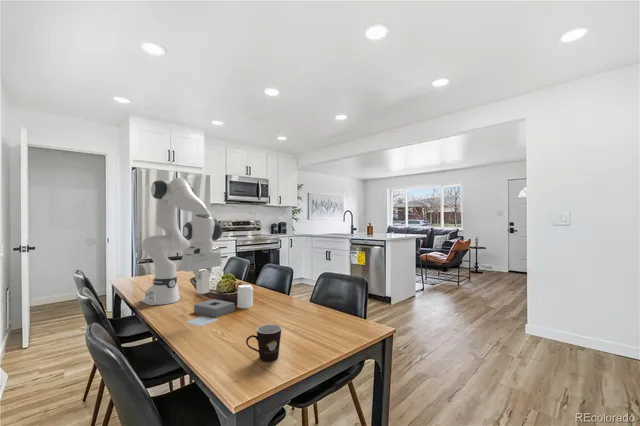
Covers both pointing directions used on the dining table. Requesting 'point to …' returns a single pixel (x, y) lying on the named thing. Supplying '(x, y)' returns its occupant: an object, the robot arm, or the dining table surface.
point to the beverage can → (245, 296)
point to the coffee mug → (267, 342)
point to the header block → (214, 308)
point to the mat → (202, 321)
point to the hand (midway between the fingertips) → (202, 278)
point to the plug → (203, 282)
